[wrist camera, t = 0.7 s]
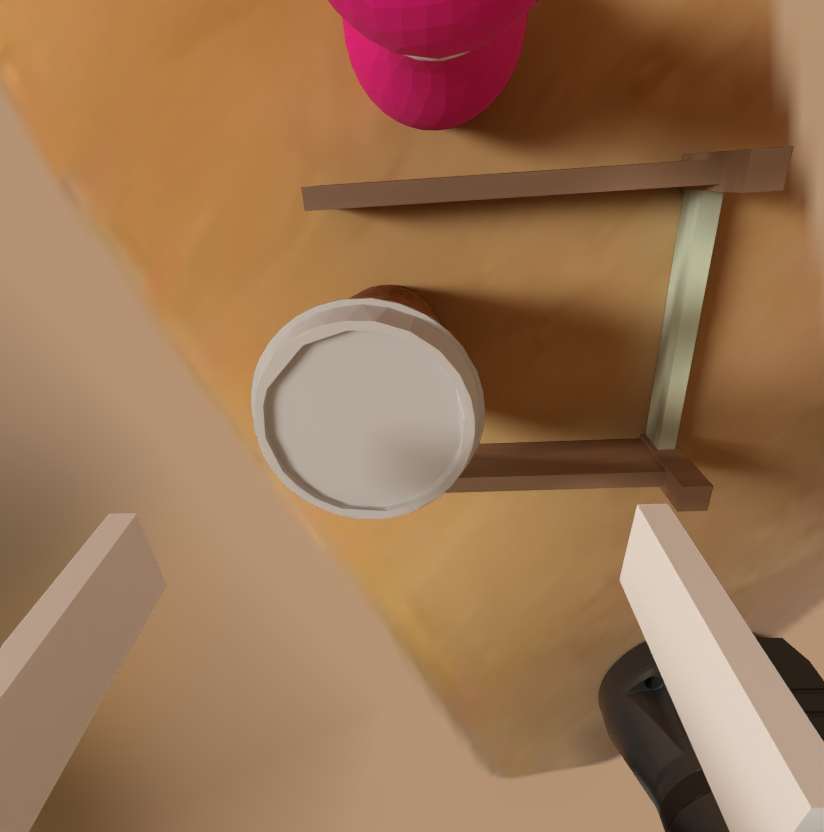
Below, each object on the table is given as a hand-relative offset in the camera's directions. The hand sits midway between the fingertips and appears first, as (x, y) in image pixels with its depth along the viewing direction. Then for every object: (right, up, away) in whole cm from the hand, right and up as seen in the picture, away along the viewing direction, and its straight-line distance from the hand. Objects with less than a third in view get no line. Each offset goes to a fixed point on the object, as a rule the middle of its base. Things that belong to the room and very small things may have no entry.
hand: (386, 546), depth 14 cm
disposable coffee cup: (-1, +8, +17) cm, 19 cm away
